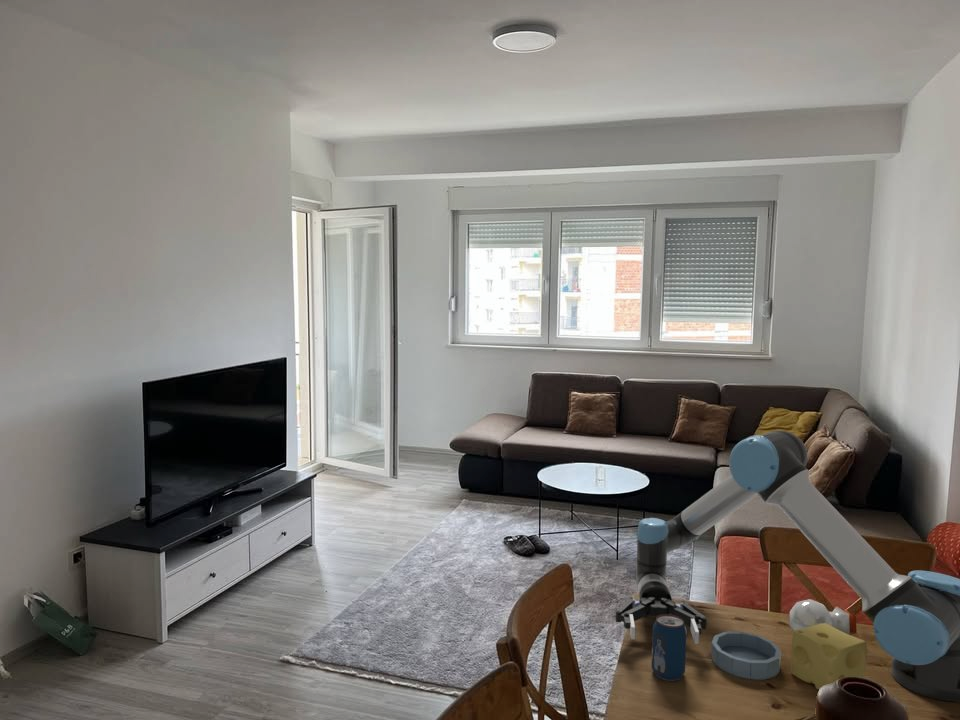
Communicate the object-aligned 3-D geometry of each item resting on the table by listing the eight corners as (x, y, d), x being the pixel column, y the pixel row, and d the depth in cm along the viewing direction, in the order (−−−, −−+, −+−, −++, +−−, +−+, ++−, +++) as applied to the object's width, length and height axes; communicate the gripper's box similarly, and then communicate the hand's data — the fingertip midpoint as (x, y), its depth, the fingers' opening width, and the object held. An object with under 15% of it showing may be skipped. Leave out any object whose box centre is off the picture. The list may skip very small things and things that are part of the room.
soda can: (685, 668, 154) (687, 615, 153) (684, 685, 148) (686, 629, 147) (652, 663, 157) (654, 610, 155) (649, 679, 150) (652, 624, 149)
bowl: (782, 656, 160) (783, 640, 160) (776, 686, 148) (777, 669, 148) (717, 641, 167) (718, 626, 166) (706, 669, 154) (707, 652, 154)
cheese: (829, 698, 144) (832, 651, 143) (787, 672, 154) (789, 628, 153) (865, 687, 148) (868, 641, 147) (821, 663, 158) (824, 619, 157)
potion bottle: (784, 644, 169) (839, 646, 172) (810, 637, 161) (867, 639, 164) (776, 603, 174) (829, 606, 177) (800, 594, 166) (856, 598, 169)
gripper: (706, 613, 174) (723, 656, 154) (603, 606, 178) (606, 647, 157) (707, 584, 174) (724, 623, 153) (603, 577, 177) (607, 614, 156)
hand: (664, 635), depth 155 cm, fingers open, 13 cm apart
